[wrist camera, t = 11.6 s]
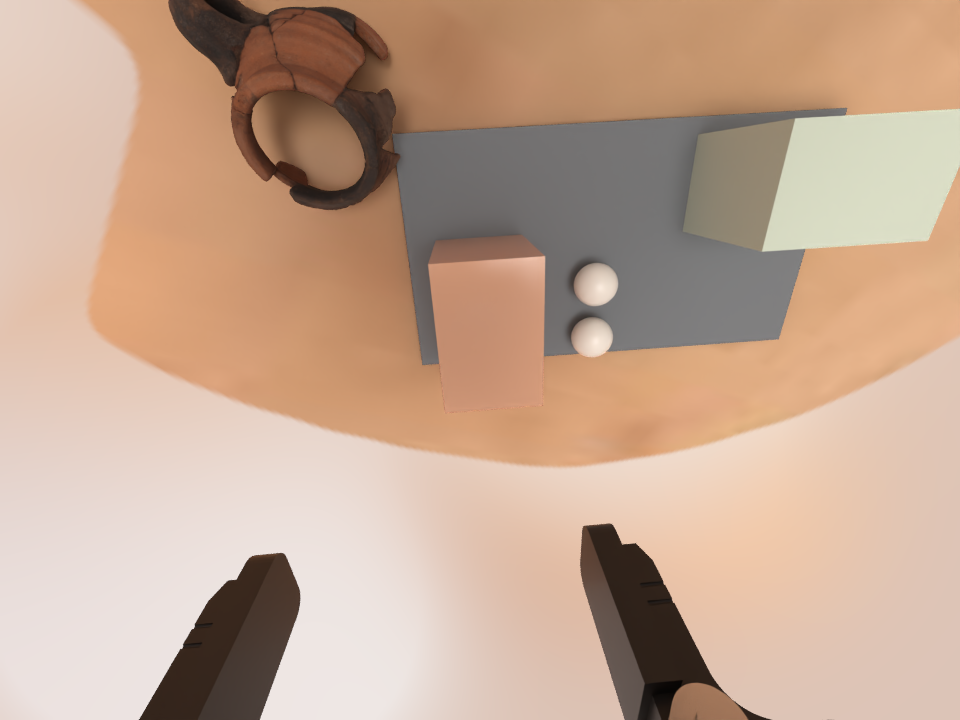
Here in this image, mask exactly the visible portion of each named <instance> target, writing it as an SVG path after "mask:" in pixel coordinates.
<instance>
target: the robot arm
mask: <svg viewBox="0 0 960 720" xmlns="http://www.w3.org/2000/svg"><path fill="white" fill-rule="evenodd" d="M580 566H581V576H582V581H583V585H584V589H585V592H586V595H587V599H588V602H589V605H590V609H591V612H592V615H593V618H594V621H595V625H596V628H597V631H598V634H599V638H600V641H601V644H602V648H603V651H604V654H605V657H606V660H607V664H608V667H609V670H610V673H611V677H612V680H613V683H614V686H615V690H616V693H617V696H618V699H619V702H620V706H621V709H622V712H623V715H624V719H625V720H770V719H766V718H764V717H761V716H758V715H756V714H753V713H751V712H750V711H748V710H746V709H745V708H743V707H741V706H740V705H738V704H737V703H736V702H734V701H733V700H732V699H731V698H730V697H729V696H728V695H727V694H726V693H725V692H724V691H723V690H722V689H721V688H720V687H719V685H718V684H717V683H716V681H715V680H714V679H713V677H712V675H711V674H710V672H709V670H708V668H707V666H706V664H705V662H704V660H703V658H702V656H701V655H700V652H699V650H698V649H697V647H696V645H695V643H694V641H693V639H692V637H691V635H690V633H689V631H688V629H687V627H686V625H685V623H684V621H683V619H682V617H681V615H680V613H679V611H678V609H677V607H676V605H675V603H673V601H672V597H671V596H670V593H669V592H668V590H667V588H666V586H665V585H664V584H663V580H662V578H661V576H660V574H659V572H658V570H657V568H656V566H655V564H654V562H653V560H652V559H651V558H650V557H649V556H648V555H647V554H646V553H645V552H644V551H643V550H642V549H641V548H639V546H638V545H637V544H636V543H635V544H624V545H622V543H621V541H620V538H619V536H618V534H617V532H616V530H615V528H614V526H613V525H612V524H600V525H589V526H583V530H582V544H581V560H580ZM299 606H300V590H299V587H298V585H297V582H296V579H295V577H294V575H293V572H292V570H291V567H290V565H289V562H288V560H287V558H286V556H285V554H283V553H276V554H266V555H255V556H252V557H251V558H249V559H248V560H247V562H246V563H245V566H244V567H243V569H242V571H241V573H240V574H239V576H238V578H237V580H229V581H227V582H226V583H225V584H224V585H223V586H222V587H221V589H220V590H219V591H218V592H217V593H216V594H215V595H214V596H213V597H212V598H211V599H210V600H209V601H208V603H207V604H206V606H205V608H204V609H203V611H202V613H201V615H200V616H199V618H198V620H197V622H196V623H195V628H194V629H192V630H191V632H190V634H189V635H188V637H187V639H186V640H185V642H184V644H183V648H182V649H180V651H179V653H178V654H177V656H176V657H175V659H174V661H173V663H172V664H171V666H170V668H169V670H168V671H167V673H166V675H165V676H164V678H163V680H162V682H161V683H160V685H159V687H158V688H157V690H156V692H155V694H154V695H153V697H152V699H151V700H150V702H149V704H148V705H147V707H146V709H145V711H144V712H143V714H142V716H141V717H140V719H139V720H260V717H261V715H262V712H263V709H264V706H265V703H266V701H267V698H268V695H269V692H270V689H271V687H272V684H273V681H274V678H275V676H276V673H277V670H278V667H279V665H280V662H281V659H282V656H283V654H284V651H285V648H286V645H287V643H288V640H289V637H290V634H291V632H292V628H293V626H294V623H295V621H296V618H297V615H298V611H299Z"/></svg>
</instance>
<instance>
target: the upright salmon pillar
mask: <svg viewBox="0 0 960 720" xmlns="http://www.w3.org/2000/svg"><path fill="white" fill-rule="evenodd" d="M428 268H429V276H430V285H431V294H432V303H433V312H434V321H435V329H436V338H437V347H438V356H439V365H440V374H441V383H442V391H443V400H444V409H445V413H454V412H467V411H480V410H493V409H506V408H519V407H532V406H543V373H544V306H545V256H544V255H543V254H542V253H541V252H540V251H539V250H538V249H537V248H536V247H535V246H534V245H533V244H531V243H530V242H529V241H528V240H527V239H526V238H525V237H524V236H523V235H508V236H493V237H478V238H463V239H448V240H436V241H435V244H434V247H433V250H432V254H431V257H430V260H429V263H428Z"/></svg>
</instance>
